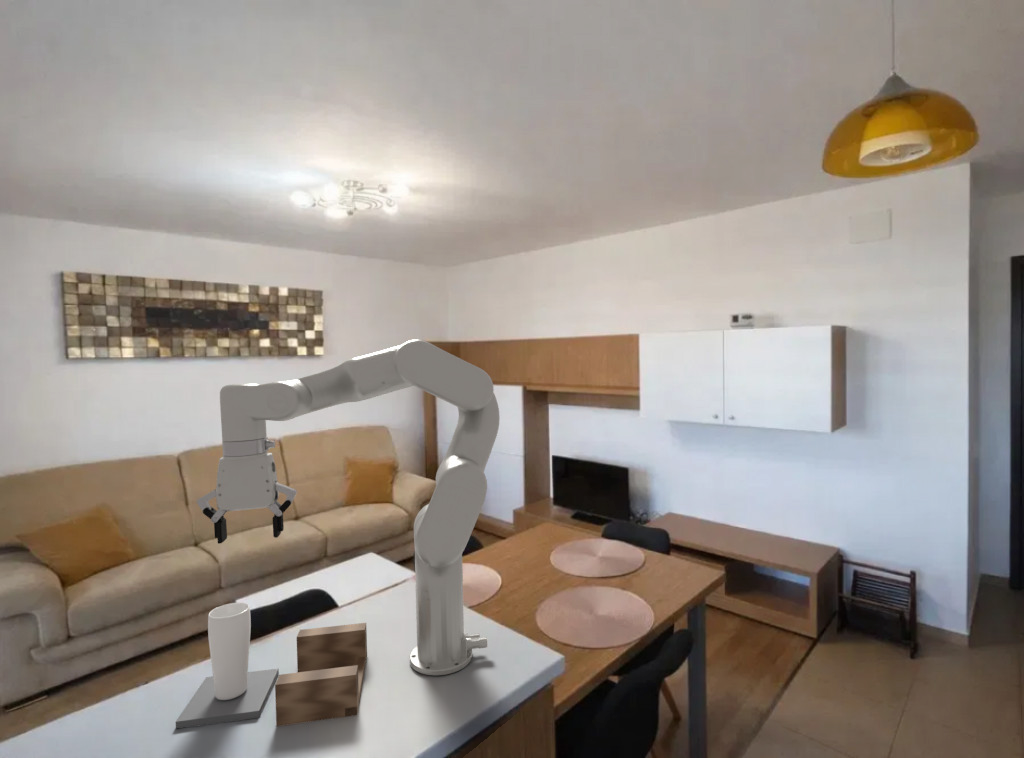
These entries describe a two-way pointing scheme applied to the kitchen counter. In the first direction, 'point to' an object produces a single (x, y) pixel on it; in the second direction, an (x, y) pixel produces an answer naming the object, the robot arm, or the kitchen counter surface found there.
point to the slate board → (228, 701)
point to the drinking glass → (229, 649)
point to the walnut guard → (323, 675)
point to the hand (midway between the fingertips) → (250, 538)
